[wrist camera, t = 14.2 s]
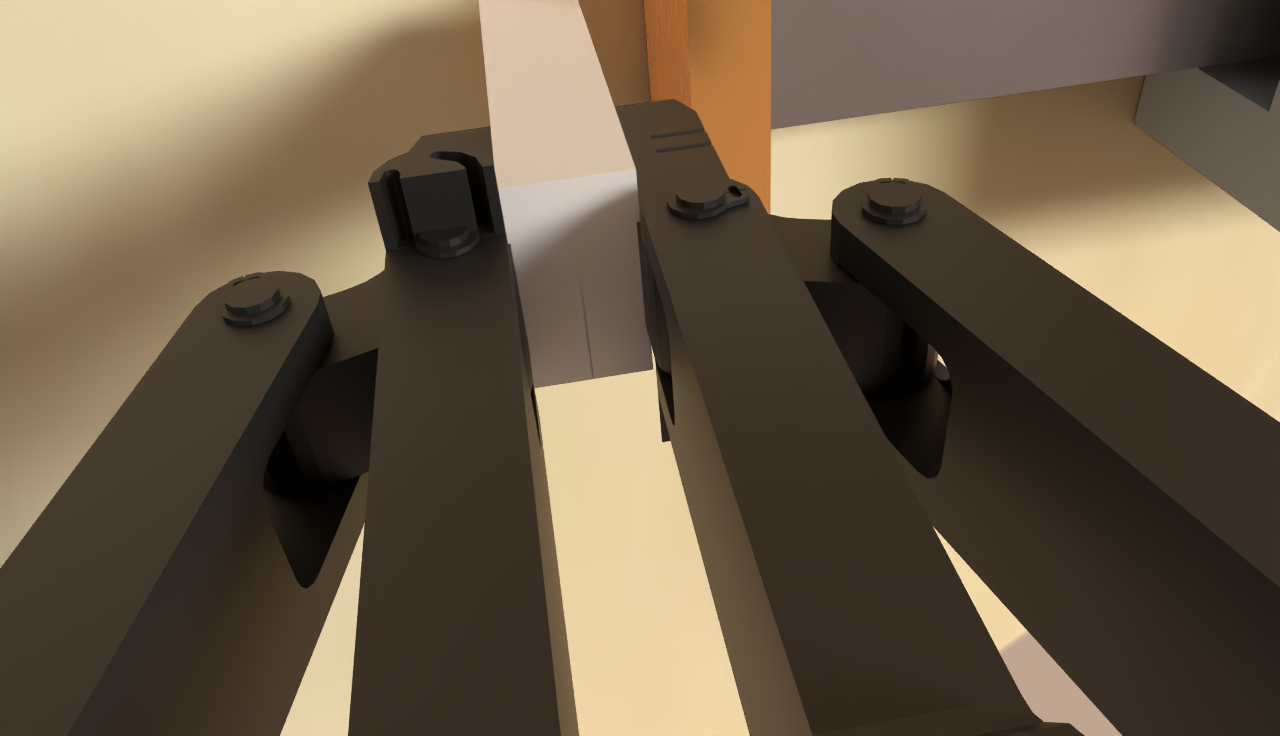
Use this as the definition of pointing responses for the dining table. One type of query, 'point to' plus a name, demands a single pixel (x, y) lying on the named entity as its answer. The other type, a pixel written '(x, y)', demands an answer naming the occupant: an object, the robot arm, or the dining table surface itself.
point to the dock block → (1222, 126)
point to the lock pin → (916, 56)
